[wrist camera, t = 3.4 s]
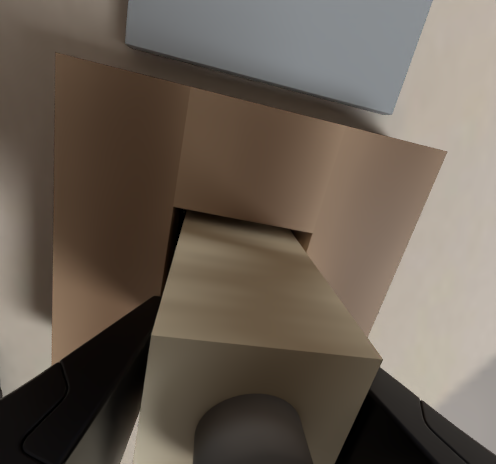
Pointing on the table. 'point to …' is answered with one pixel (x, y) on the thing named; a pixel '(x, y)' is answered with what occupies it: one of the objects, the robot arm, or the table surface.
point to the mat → (290, 42)
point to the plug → (249, 353)
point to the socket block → (213, 191)
